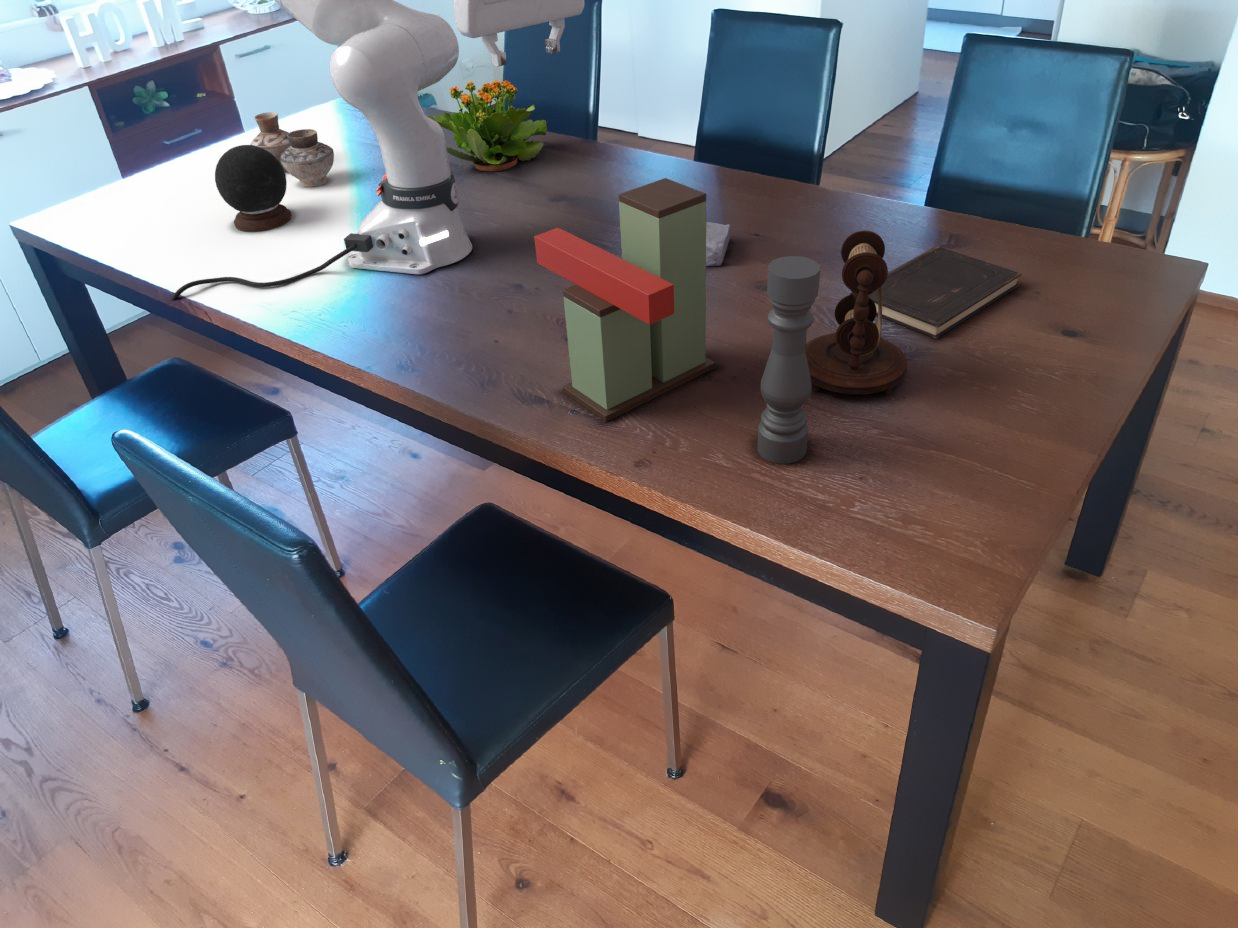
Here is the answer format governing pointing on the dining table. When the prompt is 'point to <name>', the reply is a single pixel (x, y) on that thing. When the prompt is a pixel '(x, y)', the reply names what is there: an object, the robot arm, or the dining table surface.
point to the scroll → (858, 328)
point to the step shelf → (626, 346)
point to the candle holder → (787, 359)
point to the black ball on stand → (253, 187)
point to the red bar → (606, 275)
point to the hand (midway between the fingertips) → (526, 59)
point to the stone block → (716, 243)
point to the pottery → (295, 150)
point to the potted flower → (491, 127)
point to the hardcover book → (941, 290)
